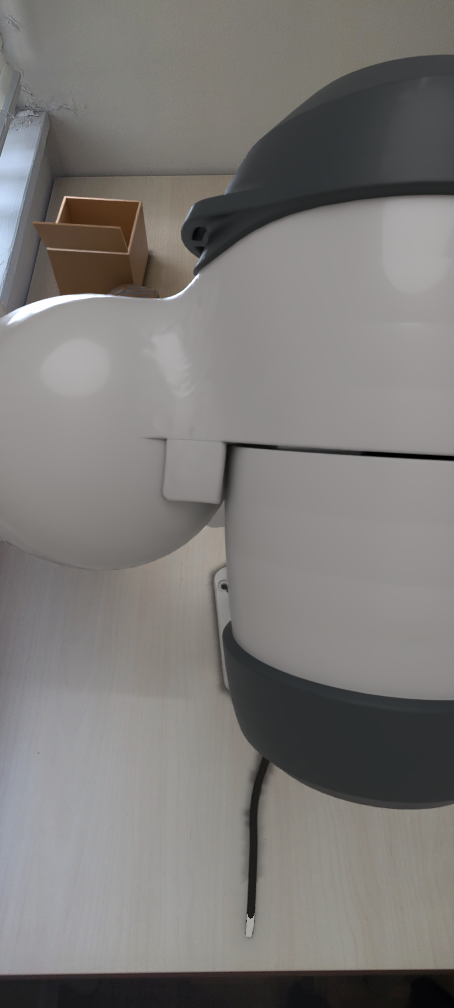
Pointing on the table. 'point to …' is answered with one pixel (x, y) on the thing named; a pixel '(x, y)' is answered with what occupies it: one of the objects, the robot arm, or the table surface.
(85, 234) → the flap
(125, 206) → the carton
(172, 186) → the table surface
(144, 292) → the vase
